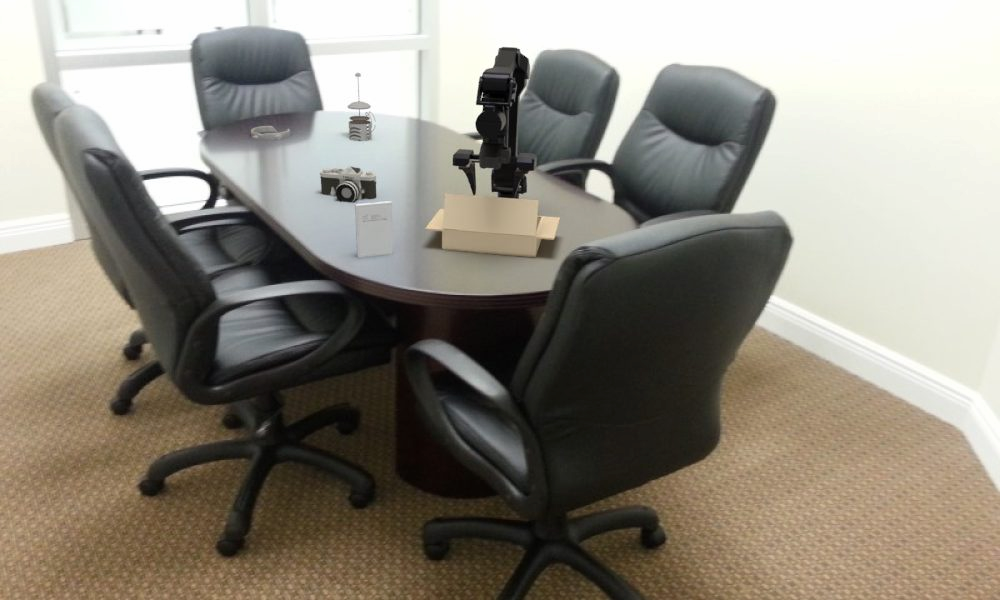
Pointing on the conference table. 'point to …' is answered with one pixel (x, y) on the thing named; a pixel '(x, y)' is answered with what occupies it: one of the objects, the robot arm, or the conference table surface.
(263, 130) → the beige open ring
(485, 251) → the carton
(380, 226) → the hard drive
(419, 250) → the conference table surface
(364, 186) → the camera
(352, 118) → the french press
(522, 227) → the kraft flap
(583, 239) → the conference table surface
